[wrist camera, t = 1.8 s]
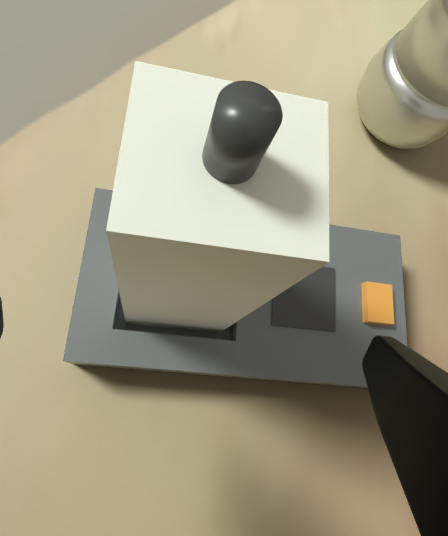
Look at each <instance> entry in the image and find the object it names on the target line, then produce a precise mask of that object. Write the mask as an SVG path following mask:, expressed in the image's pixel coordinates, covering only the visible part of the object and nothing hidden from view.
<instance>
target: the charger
mask: <svg viewBox="0 0 448 536" xmlns="http://www.w3.org/2000/svg"><path fill="white" fill-rule="evenodd" d="M106 233H107V238H108V242H109V247H110V252H111V256H112V261H113V266H114V270H115V275H116V280H117V284H118V289H119V294H120V298H121V303H122V308H123V312H124V317H125V322H126V324H134V325H144V326H154V327H163V328H173V329H183V330H193V331H203V332H213V333H220V332H222V331H223V330H225V329H226V328H228V327H229V326H231V325H232V324H234V323H236V322H237V321H239V320H240V319H242V318H243V317H245V316H246V315H248V314H249V313H251V312H253V311H254V310H256V309H257V308H259V307H260V306H262V305H263V304H265V303H267V302H268V301H270V300H271V299H273V298H274V297H276V296H277V295H279V294H280V293H282V292H284V291H285V290H287V289H288V288H290V287H291V286H293V285H294V284H296V283H297V282H299V281H301V280H302V279H304V278H305V277H307V276H308V275H310V274H311V273H313V272H315V271H316V270H318V269H319V268H321V267H322V266H324V265H325V264H327V263H328V262H329V154H328V102H325V101H321V100H316V99H311V98H307V97H302V96H297V95H293V94H288V93H283V92H279V91H274V90H269V89H267V88H266V87H264V86H262V85H260V84H258V83H255V82H251V81H237V82H232V81H227V80H223V79H218V78H213V77H209V76H204V75H199V74H195V73H190V72H185V71H181V70H176V69H171V68H167V67H162V66H157V65H153V64H148V63H143V62H139V61H135V66H134V72H133V78H132V84H131V89H130V95H129V101H128V107H127V112H126V118H125V124H124V130H123V136H122V141H121V147H120V153H119V159H118V164H117V170H116V176H115V182H114V187H113V193H112V199H111V205H110V211H109V216H108V222H107V228H106Z"/></svg>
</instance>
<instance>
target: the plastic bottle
mask: <svg viewBox="0 0 448 536" xmlns="http://www.w3.org/2000/svg"><path fill="white" fill-rule="evenodd" d="M357 100H358V111H359V114H360V117H361V119H362V121H363V123H364V125H365V126H366V128H367V129H368V130H369V131H370V132H371V133H372V134H373V135H374V136H375V137H376V138H377V139H379V140H380V141H381V142H383V143H385V144H387V145H389V146H392V147H396V148H420V147H424V146H426V145H428V144H430V143H432V142H434V141H436V140H437V139H439V138H441V137H443V136H445V135H446V134H448V0H428V1H427V2H426V3H425V4H424V5H423V7H422V8H421V9H420V10H419V11H418V12H417V13H416V15H415V16H414V17H413V18H412V19H411V20H410V21H409V22H408V24H407V25H406V26H405V27H404V28H403V29H402V30H401V31H400V32H398V33H397V34H396V35H395V36H394V37H393V38H391V39H390V40H389V41H388V42H387V43H386V44H385V45H384V46H383V47H382V48H381V49H380V50H379V52H378V53H377V54H376V55H375V56H374V57H373V58H372V59H371V61H370V62H369V64H368V66H367V68H366V70H365V72H364V74H363V76H362V78H361V80H360V83H359V86H358V92H357Z"/></svg>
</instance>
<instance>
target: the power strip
mask: <svg viewBox="0 0 448 536" xmlns="http://www.w3.org/2000/svg"><path fill="white" fill-rule="evenodd" d="M112 193H113V191H112V190H105V189H99V188H95V194H94V199H93V204H92V210H91V215H90V220H89V226H88V231H87V236H86V242H85V247H84V252H83V257H82V263H81V268H80V273H79V279H78V284H77V289H76V295H75V300H74V305H73V311H72V316H71V321H70V326H69V332H68V337H67V342H66V348H65V353H64V358H63V361H65V362H68V363H71V364H79V365H92V366H104V367H116V368H128V369H141V370H153V371H165V372H177V373H189V374H202V375H214V376H226V377H238V378H251V379H263V380H275V381H287V382H300V383H312V384H324V385H336V386H349V387H361V388H368V387H367V383H366V379H365V376H364V372H363V368H362V361H363V358H364V355H365V353H366V351H367V349H368V347H369V345H370V343H371V341H372V339H373V337H375V336H376V335H383V336H390V337H393V338H395V339H396V340H398V341H399V342H401V343H402V344H404V345H405V346H407V332H406V317H405V301H404V286H403V271H402V256H401V241H400V236H399V235H392V234H386V233H379V232H373V231H367V230H360V229H354V228H348V227H341V226H335V225H329V262H328V263H327V264H325V265H324V266H322V267H321V268H319V269H318V270H316V271H315V272H313V273H311V274H310V275H308V276H307V277H305V278H304V279H302V280H301V281H299V282H297V283H296V284H294V285H293V286H291V287H290V288H288V289H287V290H285V291H284V292H282V293H280V294H279V295H277V296H276V297H274V298H273V299H271V300H270V301H268V302H267V303H265V304H263V305H262V306H260V307H259V308H257V309H256V310H254V311H253V312H251V313H249V314H248V315H246V316H245V317H243V318H242V319H240V320H239V321H237V322H236V323H234V324H232V325H231V326H229V327H228V328H226V329H225V330H223V331H222V332H220V333H213V332H203V331H193V330H183V329H173V328H163V327H154V326H144V325H134V324H126V322H125V317H124V312H123V308H122V303H121V298H120V294H119V289H118V284H117V280H116V275H115V270H114V266H113V261H112V256H111V252H110V247H109V242H108V238H107V233H106V228H107V222H108V216H109V211H110V205H111V199H112Z"/></svg>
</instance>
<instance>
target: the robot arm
mask: <svg viewBox="0 0 448 536" xmlns="http://www.w3.org/2000/svg"><path fill="white" fill-rule="evenodd" d="M2 332H3V312H2V301H1V298H0V338H1V336H2ZM362 368H363V372H364V376H365V379H366V383H367V387H368V390H369V394H370V398H371V401H372V405H373V409H374V412H375V416H376V419H377V422H378V425H379V428H380V431H381V433H382V436H383V438H384V441H385V444H386V446H387V449H388V451H389V454H390V457H391V459H392V462H393V464H394V467H395V469H396V472H397V475H398V477H399V480H400V482H401V485H402V488H403V490H404V493H405V495H406V498H407V501H408V503H409V506H410V508H411V511H412V514H413V516H414V519H415V521H416V524H417V527H418V529H419V532H420V534H421V536H448V373H447V372H445V371H444V370H442V369H441V368H439V367H438V366H436V365H435V364H433V363H432V362H430V361H428V360H427V359H425V358H424V357H422V356H421V355H419V354H418V353H416V352H415V351H413V350H412V349H410V348H408V347H407V346H405V345H404V344H402V343H401V342H399V341H398V340H396V339H395V338H393V337H390V336H383V335H376V336H375V337H373V339H372V341H371V343H370V345H369V347H368V349H367V351H366V353H365V355H364V358H363V361H362Z"/></svg>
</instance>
